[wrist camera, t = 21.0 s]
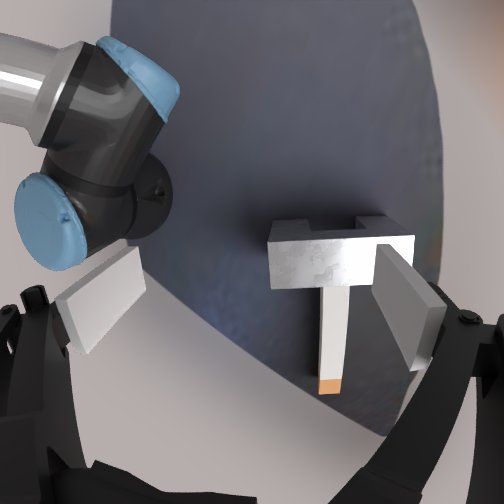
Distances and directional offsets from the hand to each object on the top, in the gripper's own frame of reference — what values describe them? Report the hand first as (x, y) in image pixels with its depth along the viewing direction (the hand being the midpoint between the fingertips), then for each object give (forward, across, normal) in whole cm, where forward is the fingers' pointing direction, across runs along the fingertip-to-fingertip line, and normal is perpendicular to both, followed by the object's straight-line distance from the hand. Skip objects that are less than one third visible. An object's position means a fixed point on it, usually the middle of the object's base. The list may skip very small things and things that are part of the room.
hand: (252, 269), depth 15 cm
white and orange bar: (+29, +9, -24) cm, 39 cm away
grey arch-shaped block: (+29, +9, -7) cm, 32 cm away
